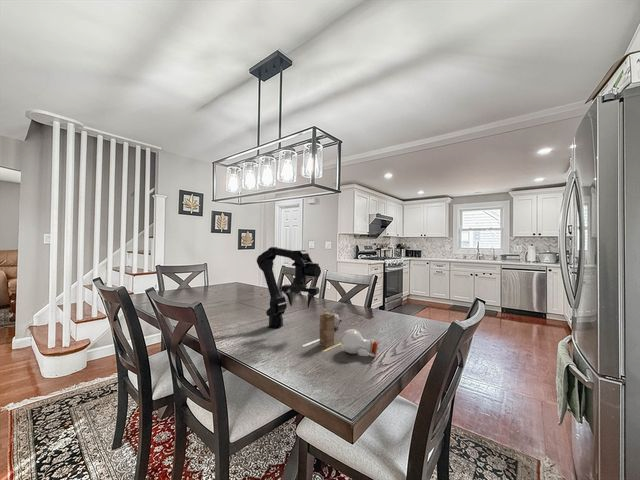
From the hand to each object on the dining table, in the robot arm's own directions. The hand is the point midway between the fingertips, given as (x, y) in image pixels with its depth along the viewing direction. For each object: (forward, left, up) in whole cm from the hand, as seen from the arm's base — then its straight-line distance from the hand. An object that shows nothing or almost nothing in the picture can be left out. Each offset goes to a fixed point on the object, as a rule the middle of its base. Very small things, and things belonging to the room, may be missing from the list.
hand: (299, 306), depth 134 cm
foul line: (+12, -8, -13) cm, 19 cm away
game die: (+15, +12, -13) cm, 23 cm away
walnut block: (+17, -11, -13) cm, 24 cm away
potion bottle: (+32, -16, -13) cm, 38 cm away
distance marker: (+21, -13, -13) cm, 27 cm away
